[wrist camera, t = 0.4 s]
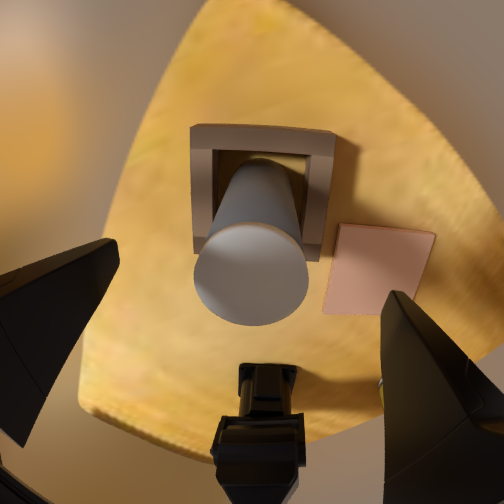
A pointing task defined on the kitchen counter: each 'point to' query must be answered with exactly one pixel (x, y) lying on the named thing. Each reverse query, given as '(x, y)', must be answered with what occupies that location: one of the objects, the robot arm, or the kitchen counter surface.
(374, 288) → the terracotta tile
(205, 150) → the walnut collar
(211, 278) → the grey cylinder
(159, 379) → the kitchen counter surface
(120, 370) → the kitchen counter surface
